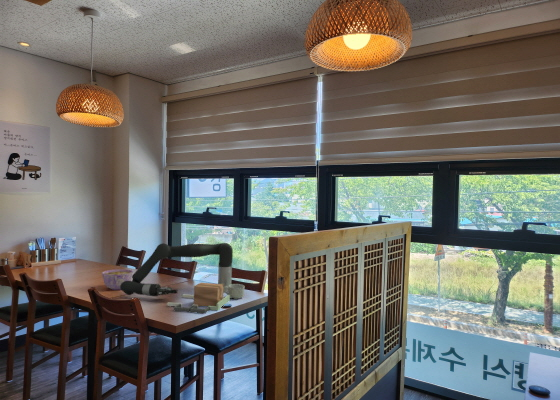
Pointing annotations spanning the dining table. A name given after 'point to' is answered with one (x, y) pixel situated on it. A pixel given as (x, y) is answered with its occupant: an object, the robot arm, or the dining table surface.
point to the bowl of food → (116, 277)
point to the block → (208, 294)
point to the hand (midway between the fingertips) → (176, 291)
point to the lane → (195, 307)
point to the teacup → (235, 290)
